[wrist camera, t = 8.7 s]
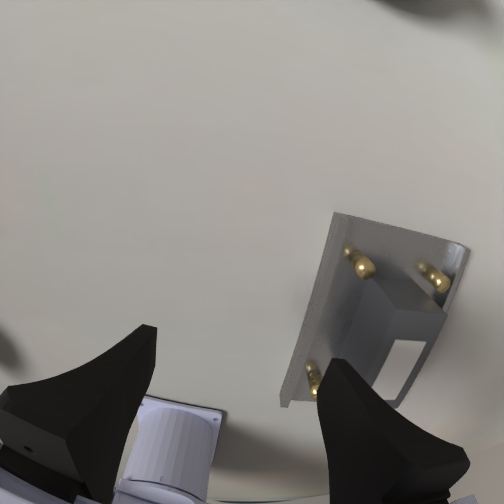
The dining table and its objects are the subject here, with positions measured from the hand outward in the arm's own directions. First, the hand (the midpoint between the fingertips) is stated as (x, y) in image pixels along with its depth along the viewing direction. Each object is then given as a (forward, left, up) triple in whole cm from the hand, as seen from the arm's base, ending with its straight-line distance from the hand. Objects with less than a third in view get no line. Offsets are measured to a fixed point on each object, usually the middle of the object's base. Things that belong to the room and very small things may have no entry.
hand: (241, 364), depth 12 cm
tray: (-3, -10, -10) cm, 15 cm away
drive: (-3, -10, -9) cm, 14 cm away
